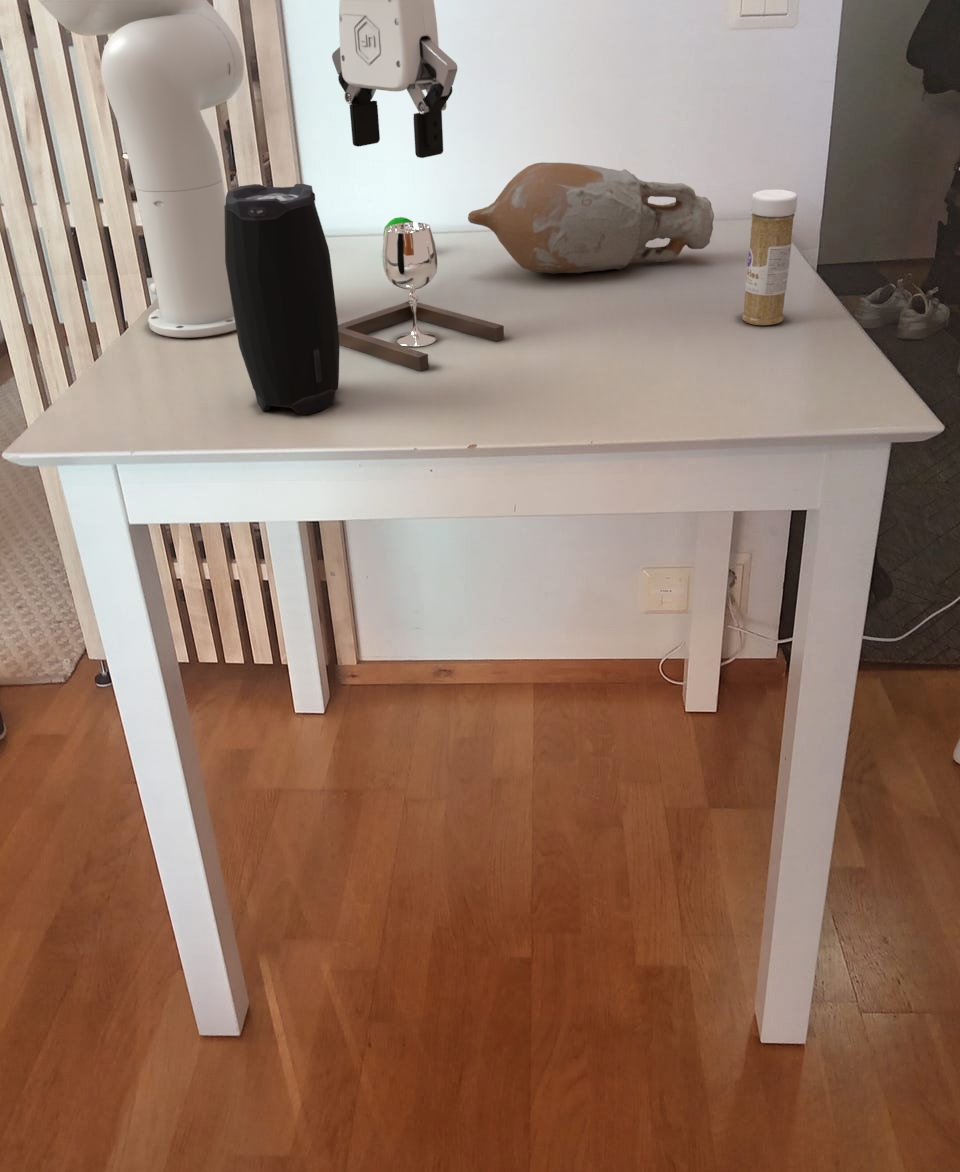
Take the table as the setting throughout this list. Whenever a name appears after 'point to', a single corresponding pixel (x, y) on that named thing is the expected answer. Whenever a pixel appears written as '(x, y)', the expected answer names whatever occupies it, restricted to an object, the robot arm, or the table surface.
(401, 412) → the table surface
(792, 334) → the table surface
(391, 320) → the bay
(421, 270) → the wineglass
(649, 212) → the amphora
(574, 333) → the table surface
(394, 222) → the polyhedron
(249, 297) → the portable speaker
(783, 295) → the sprinkles bottle
